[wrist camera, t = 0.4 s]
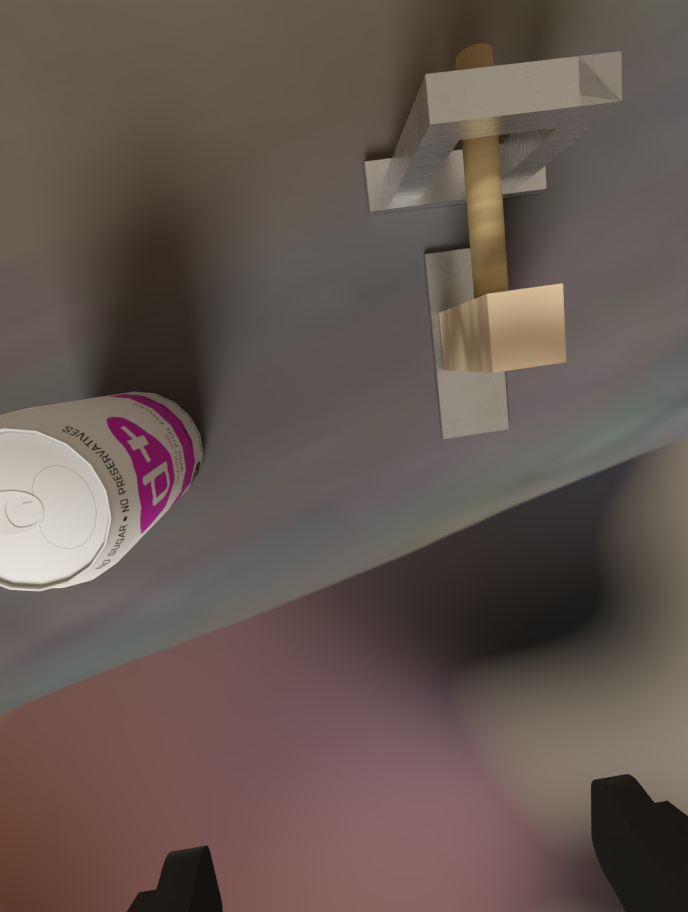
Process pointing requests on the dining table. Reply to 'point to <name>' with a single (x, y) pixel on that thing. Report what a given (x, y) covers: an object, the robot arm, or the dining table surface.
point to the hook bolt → (496, 274)
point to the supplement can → (88, 483)
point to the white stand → (522, 173)
